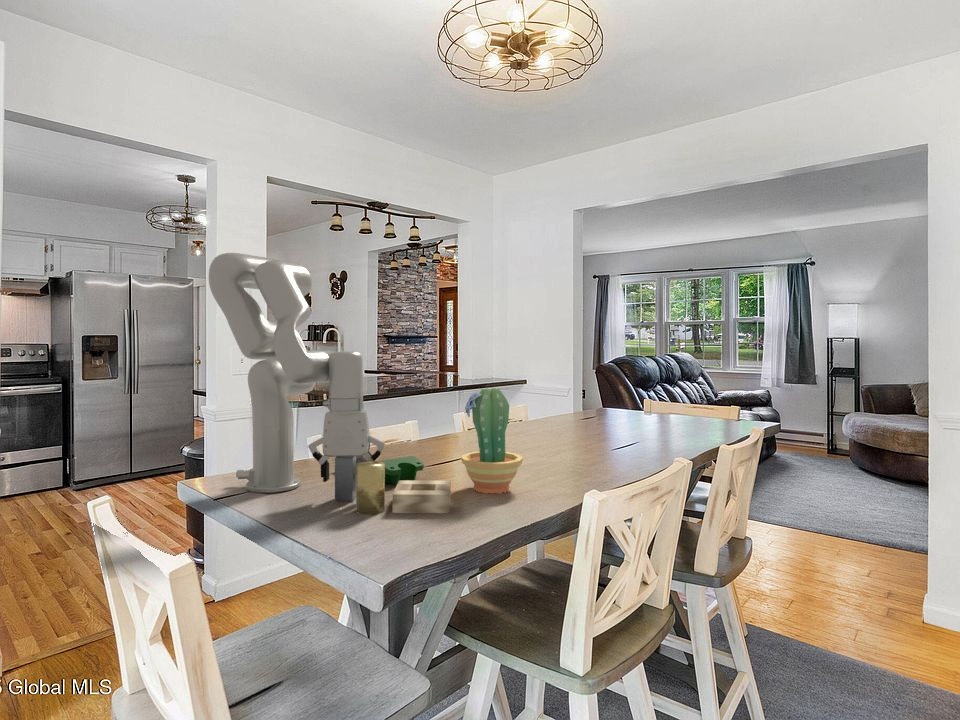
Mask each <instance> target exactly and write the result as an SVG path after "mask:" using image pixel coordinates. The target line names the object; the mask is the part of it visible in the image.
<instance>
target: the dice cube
mask: <svg viewBox="0 0 960 720" xmlns="http://www.w3.org/2000/svg"><path fill="white" fill-rule="evenodd" d="M361 462H367V460H366V459H365V458H364V457H363V456H356V464H358V463H361Z"/></svg>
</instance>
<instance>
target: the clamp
mask: <svg viewBox="0 0 960 720" xmlns="http://www.w3.org/2000/svg"><path fill="white" fill-rule="evenodd" d="M377 462H383V463H385V484H389V483H392V484H394V485H395V487H396V486H397V484H398V482H399V480H416V477H417V472H420V471H423V470H424V467H425V462H423V461H422V460H420V459H418V458H417V457H416V456H414V455H409V456H402V457H396V458H390V459H384V460H378V461H377Z"/></svg>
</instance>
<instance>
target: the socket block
mask: <svg viewBox="0 0 960 720" xmlns="http://www.w3.org/2000/svg"><path fill="white" fill-rule="evenodd" d="M451 481H452V480H416V479H415V480H407V479H405V480H399V482H398V484H397V486H396V485H395V488H394V491H393V493H392V514H450V510H449V509H450V508H451V507H450V506H451V498H452V494H451V492H452V490H451V489H452V487H451V485H452V484H451Z"/></svg>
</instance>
